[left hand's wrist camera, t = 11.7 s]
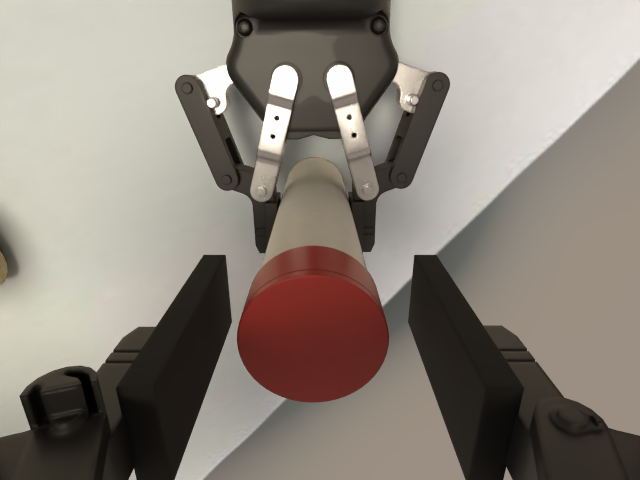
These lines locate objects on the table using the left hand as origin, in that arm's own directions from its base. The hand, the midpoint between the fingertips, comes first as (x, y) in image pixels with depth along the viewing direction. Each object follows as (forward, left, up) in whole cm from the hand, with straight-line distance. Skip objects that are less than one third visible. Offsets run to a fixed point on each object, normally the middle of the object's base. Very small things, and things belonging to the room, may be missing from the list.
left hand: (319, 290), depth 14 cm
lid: (0, 0, +3) cm, 3 cm away
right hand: (-2, -2, -9) cm, 10 cm away
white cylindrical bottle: (0, 0, -16) cm, 16 cm away
